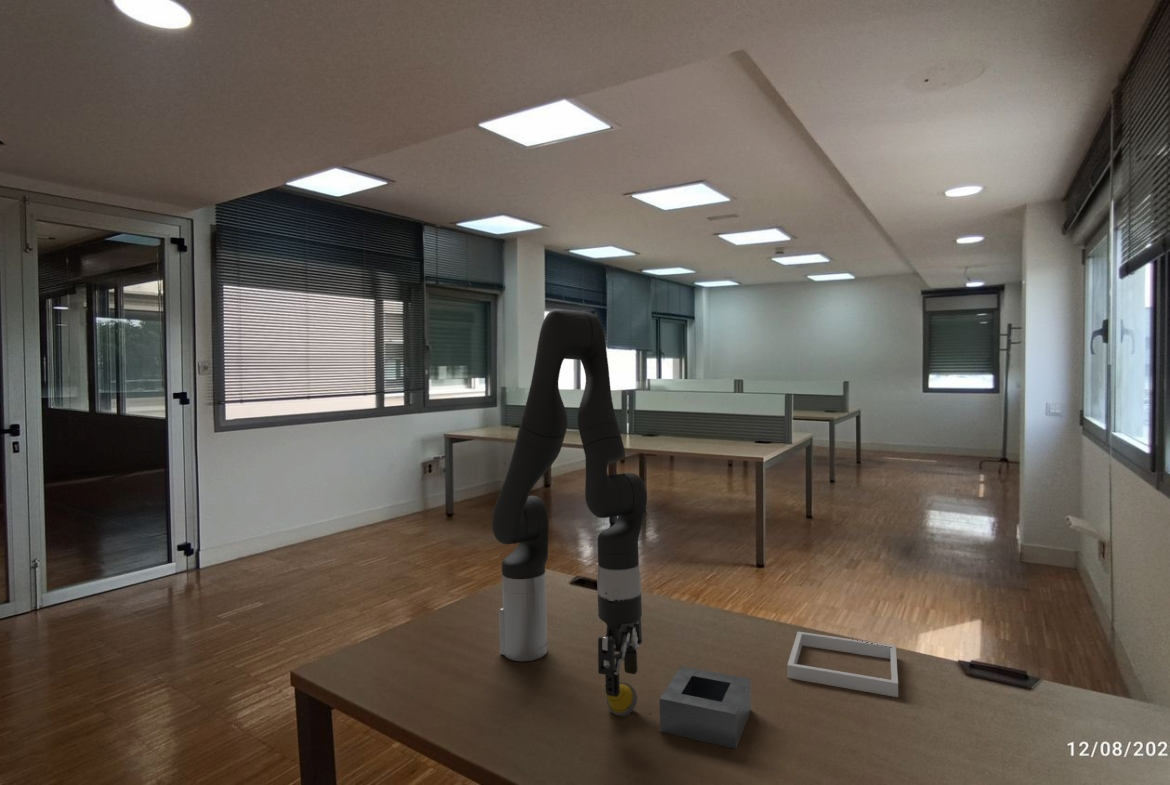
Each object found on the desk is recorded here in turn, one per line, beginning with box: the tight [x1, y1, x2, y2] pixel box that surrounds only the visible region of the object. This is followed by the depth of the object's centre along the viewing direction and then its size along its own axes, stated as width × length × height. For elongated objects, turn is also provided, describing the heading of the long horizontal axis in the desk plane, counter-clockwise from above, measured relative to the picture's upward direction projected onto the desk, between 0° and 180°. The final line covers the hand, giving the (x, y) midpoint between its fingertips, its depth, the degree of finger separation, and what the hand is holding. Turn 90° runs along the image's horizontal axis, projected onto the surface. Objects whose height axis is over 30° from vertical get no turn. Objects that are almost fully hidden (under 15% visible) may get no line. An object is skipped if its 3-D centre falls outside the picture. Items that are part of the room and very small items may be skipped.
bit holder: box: [659, 665, 752, 750], centre depth 106 cm, size 12×12×6 cm
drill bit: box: [604, 681, 638, 717], centre depth 108 cm, size 5×5×10 cm
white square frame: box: [786, 631, 899, 698], centre depth 123 cm, size 19×17×2 cm
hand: (622, 683), depth 108 cm, fingers open, 8 cm apart
